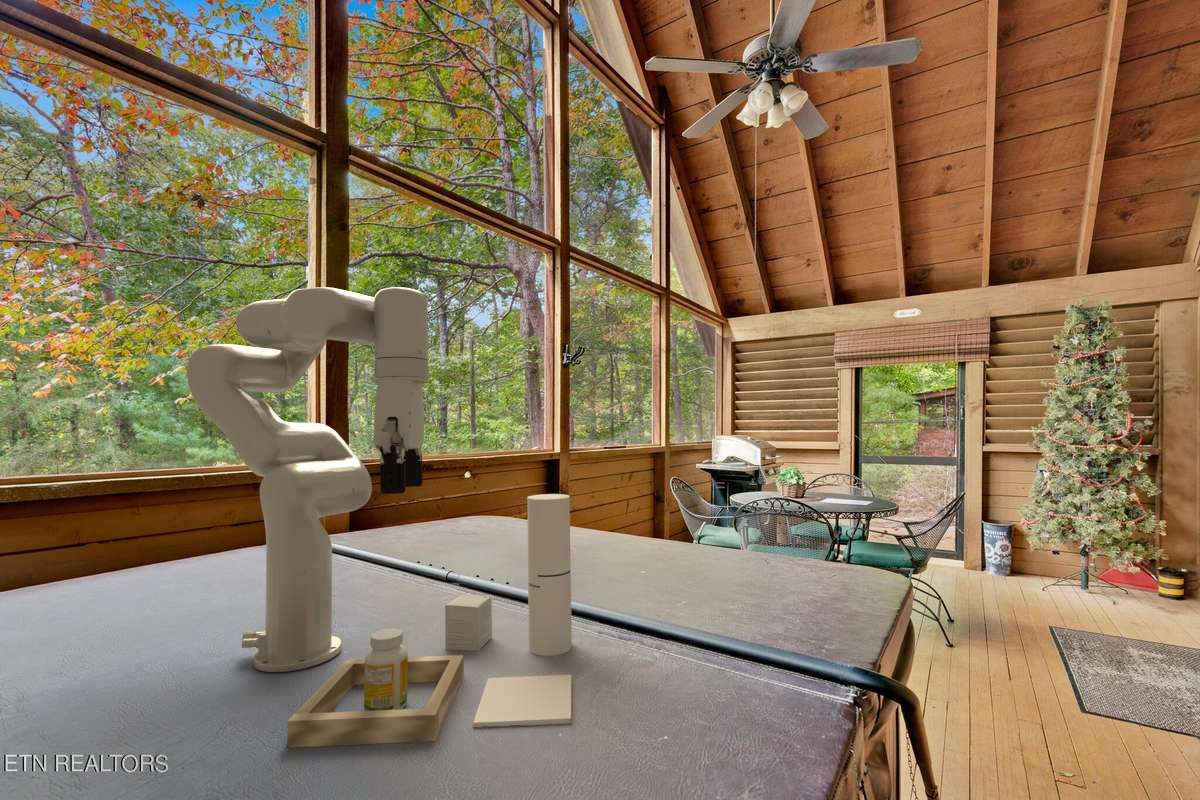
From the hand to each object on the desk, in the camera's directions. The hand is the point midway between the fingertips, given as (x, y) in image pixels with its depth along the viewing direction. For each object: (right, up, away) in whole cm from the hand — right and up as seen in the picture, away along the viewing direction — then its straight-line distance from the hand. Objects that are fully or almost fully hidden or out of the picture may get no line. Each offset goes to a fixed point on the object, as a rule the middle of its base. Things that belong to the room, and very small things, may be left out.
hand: (402, 489), depth 80 cm
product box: (+6, -29, +14) cm, 33 cm away
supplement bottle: (0, -28, -7) cm, 29 cm away
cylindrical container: (+20, -29, +12) cm, 37 cm away
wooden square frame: (0, -28, -7) cm, 29 cm away
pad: (+19, -27, -6) cm, 34 cm away
